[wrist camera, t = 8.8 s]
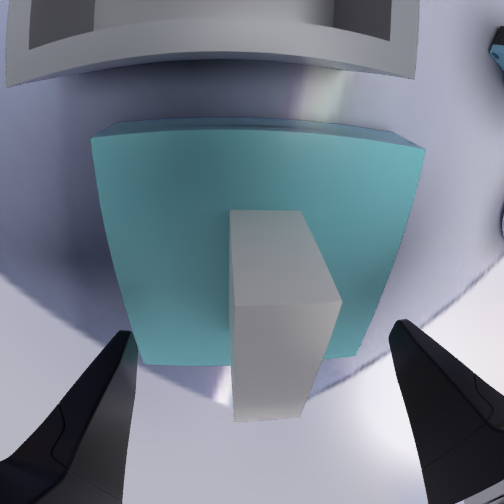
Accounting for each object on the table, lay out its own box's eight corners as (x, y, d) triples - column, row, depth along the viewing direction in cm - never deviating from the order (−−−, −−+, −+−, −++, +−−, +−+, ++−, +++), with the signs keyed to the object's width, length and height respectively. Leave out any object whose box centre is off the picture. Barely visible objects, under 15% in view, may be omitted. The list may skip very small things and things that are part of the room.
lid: (150, 329, 17) (133, 441, 11) (115, 123, 10) (10, 197, 4) (343, 323, 18) (379, 425, 12) (393, 132, 11) (511, 206, 6)
